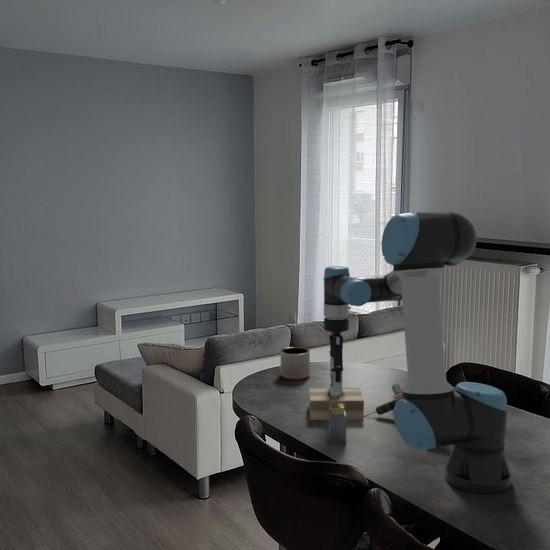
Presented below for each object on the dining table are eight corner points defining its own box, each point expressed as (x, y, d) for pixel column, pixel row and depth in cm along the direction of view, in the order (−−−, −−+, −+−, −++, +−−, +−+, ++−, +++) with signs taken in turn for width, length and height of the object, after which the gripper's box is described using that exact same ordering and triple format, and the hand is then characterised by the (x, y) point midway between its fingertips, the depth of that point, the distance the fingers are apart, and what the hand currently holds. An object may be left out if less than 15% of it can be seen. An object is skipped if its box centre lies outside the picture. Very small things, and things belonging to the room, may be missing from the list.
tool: (455, 402, 177) (432, 364, 206) (363, 438, 180) (354, 396, 209) (460, 415, 177) (437, 375, 207) (369, 450, 180) (358, 406, 210)
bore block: (363, 419, 194) (363, 400, 193) (310, 419, 195) (310, 400, 194) (359, 405, 206) (359, 387, 205) (309, 405, 206) (309, 387, 206)
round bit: (341, 414, 199) (342, 377, 197) (330, 414, 199) (330, 377, 197) (340, 410, 202) (341, 373, 200) (329, 410, 202) (329, 373, 200)
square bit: (346, 443, 177) (346, 408, 175) (330, 443, 177) (330, 408, 176) (344, 437, 181) (345, 403, 180) (329, 437, 181) (329, 403, 180)
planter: (278, 379, 234) (278, 353, 232) (282, 370, 244) (282, 346, 243) (308, 380, 232) (308, 355, 230) (311, 372, 242) (311, 347, 241)
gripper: (352, 326, 183) (352, 398, 186) (345, 309, 208) (344, 372, 211) (326, 326, 184) (326, 398, 187) (321, 309, 208) (321, 372, 211)
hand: (335, 384), depth 199 cm, fingers open, 13 cm apart
